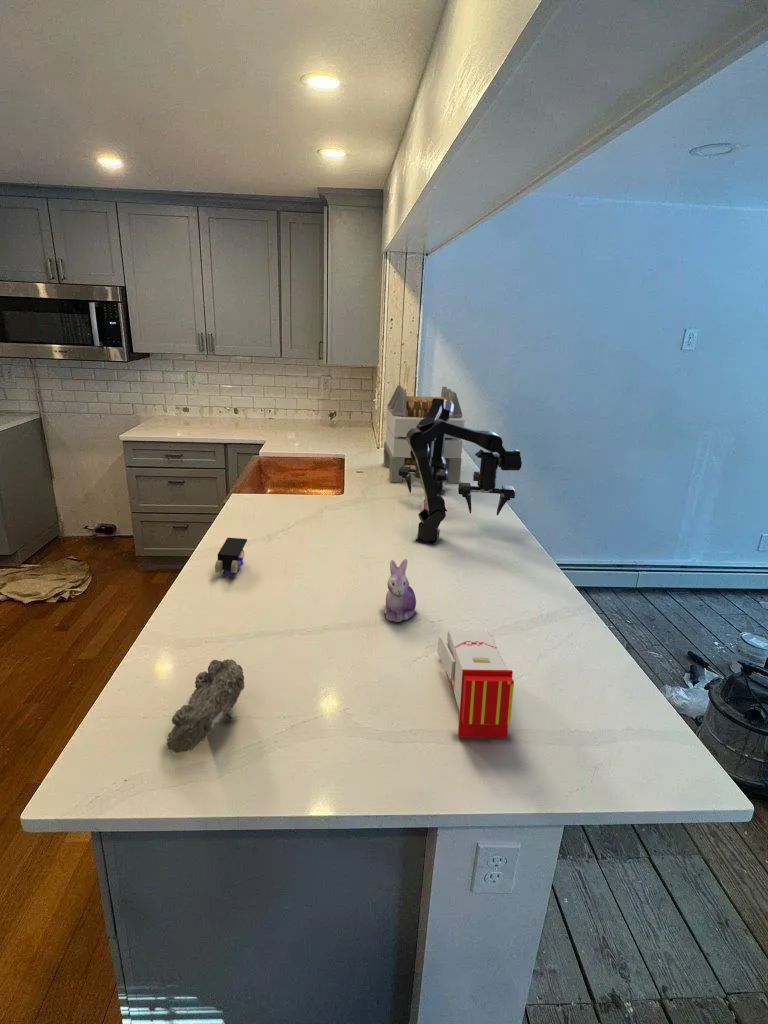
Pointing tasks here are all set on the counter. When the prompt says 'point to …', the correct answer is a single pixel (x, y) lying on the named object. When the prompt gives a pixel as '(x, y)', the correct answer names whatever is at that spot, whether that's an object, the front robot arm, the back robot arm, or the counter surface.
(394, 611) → the figurine
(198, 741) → the fossil
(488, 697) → the toy
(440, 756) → the counter surface
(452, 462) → the transformer
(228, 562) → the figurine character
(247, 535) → the counter surface
